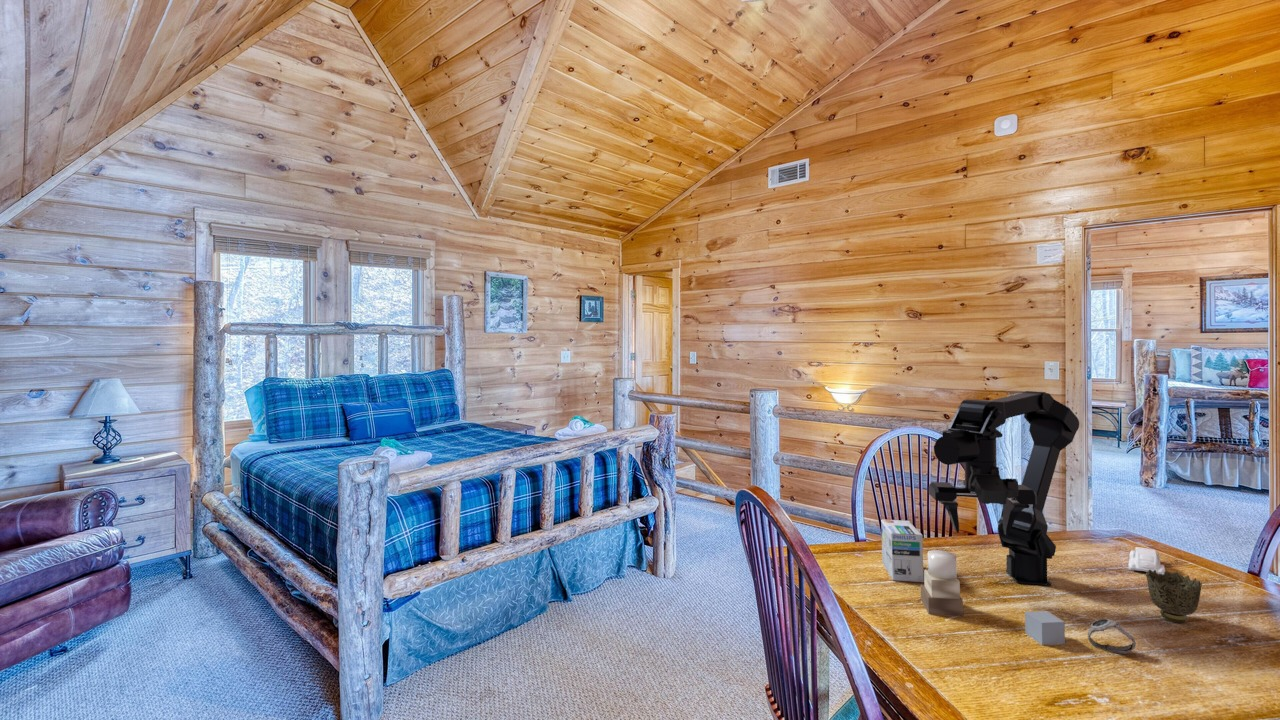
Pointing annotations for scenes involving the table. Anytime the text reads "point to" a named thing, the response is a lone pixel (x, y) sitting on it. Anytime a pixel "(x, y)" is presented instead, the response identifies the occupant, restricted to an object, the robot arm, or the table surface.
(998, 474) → the robot arm
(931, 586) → the tower top
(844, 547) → the table surface
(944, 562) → the white cylinder
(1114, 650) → the wristwatch
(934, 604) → the tower base
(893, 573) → the light bulb box
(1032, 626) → the block
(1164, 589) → the cup
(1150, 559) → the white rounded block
